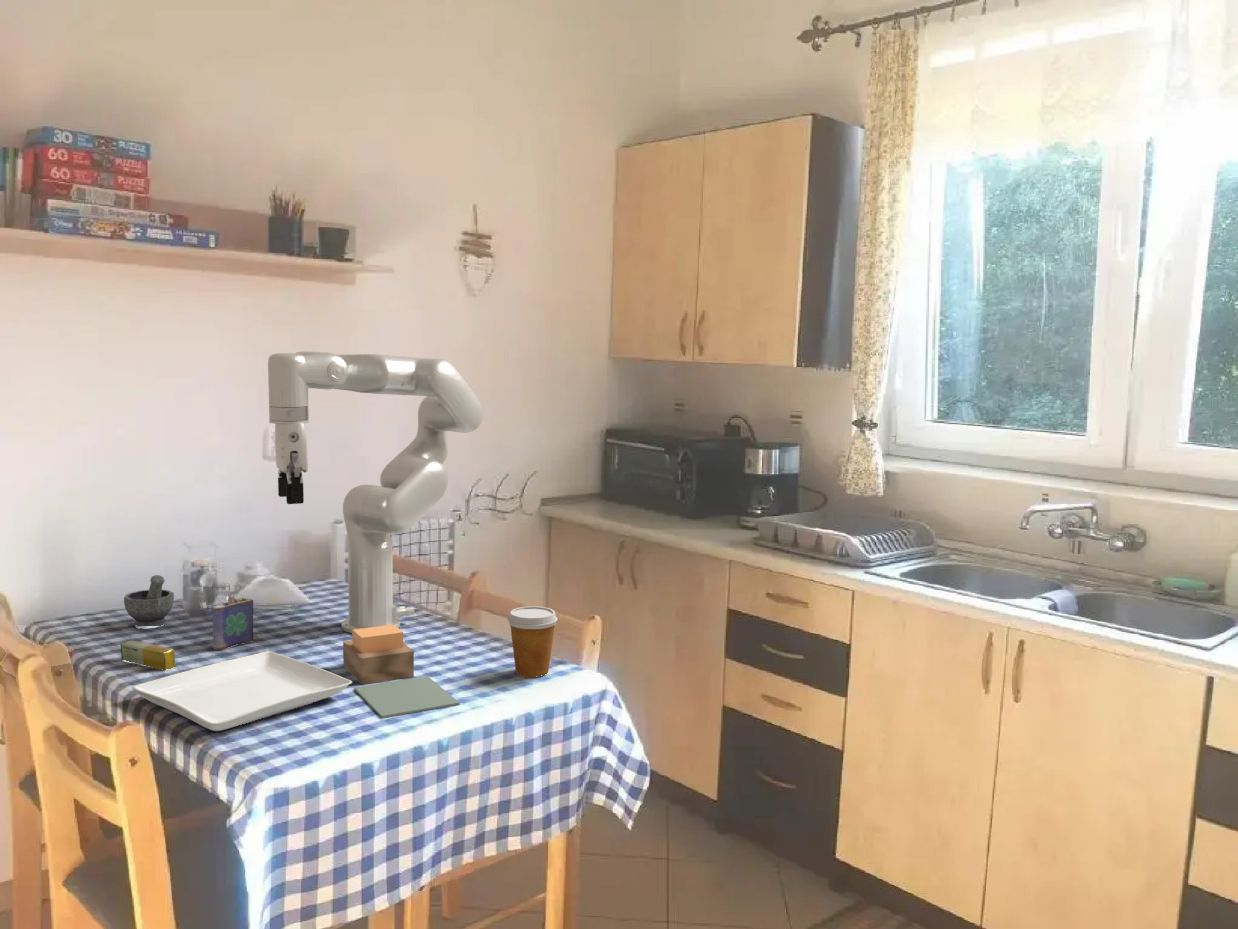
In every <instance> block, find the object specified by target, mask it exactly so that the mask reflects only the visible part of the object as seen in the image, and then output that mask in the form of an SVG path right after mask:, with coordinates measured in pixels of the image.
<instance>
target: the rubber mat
mask: <svg viewBox="0 0 1238 929" xmlns="http://www.w3.org/2000/svg"><path fill="white" fill-rule="evenodd" d="M353 688H354V691H355V692H356V693H357V694H358V695H359V697H361V698H362V700H364V702H366V704H368V705H369V706H370V708H371V709H372V710H373V711H374V712H375V713H376V714H377V715H378V716H379V717H380V718H381V719H385V718H390V717H391V718H392V717H397V716H402V715H409V714H413V713H420V711H421V712H425V711H426V712H427V711H431V710H437V709H438V710H439V709H442V708H449V707H455V706H458V705H459V706H460V705H461V704H460V701H459V700H457V699H456V698H455V697H453V695H451V694H450V693H448V691H446V690H445V689H444V688H443V687H441V686H440V685H439V684H438V683H436V682H435V681H434V680H433V679H432V678H431V677H429V675H426V676H419V677H411V678H405V679H398V680H395V681H394V680H392V681H385V682H379V683H373V684H369V685H368V684H366V685H362V686H361V685H360V686H357V687H356V686H355V687H353ZM454 705H455V706H454Z"/></svg>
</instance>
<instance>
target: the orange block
mask: <svg viewBox="0 0 1238 929" xmlns="http://www.w3.org/2000/svg"><path fill="white" fill-rule="evenodd" d="M352 640H353V646H355V647H356V648H357V649H358V650H359V651H360V652H361V653H368V652H375V651H382V650H389V649H397V648H403V643H404V632H403V630H401V629H400V628H397V627H396V626H394V625H385V626H377V627H370V628H362V629H354V630H353V633H352Z"/></svg>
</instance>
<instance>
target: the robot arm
mask: <svg viewBox="0 0 1238 929" xmlns="http://www.w3.org/2000/svg"><path fill="white" fill-rule="evenodd" d="M267 372H268V374H267V376H268V377H267V378H268V414H269V415H268V416H269V418H268V419H269V420H268V421H269V423H270V424H274V447H275V448H274V449H275V464H276V465H275V466H276V468H277V469H278V472H277V473H278V474H277V475H278V477H277V488H278V489H277V490H278V491H277V492H278V497H279V498H280V497H281V498H283V497H284V498H285V497H286V499H285V500H286V504H287V505H296V504H297V505H301V504H304V500H305V499H304V480H303V479H304V478H303V473H307V472H308V471H309V463H308V461H309V460H308V446H307V444H308V443H307V434H306V426H305V424H308V423H309V422H310V420H309V418H310V417H309V416H310V415H309V389H316V390H341V391H348V392H354V393H355V392H356V393H361V394H375V395H393V396H394V395H396V396H417V397H418V396H419V397H421V396H422V397H424V398H423V399H422V401H421V402H420V404H419V407H418V410H417V423H418V424H417V432H416V436H415V438H414V439H413V440H412V441H411V442H410V443H409V444H408V445H407V446H405V448H403V449H402V451H400V452H399V453H398V454H397V455H396V456H395V457H394V458H392V459H391V461H389V462H388V463H387V464H386V465H385V467H384V468H383V469H382V471H381V474H380V476H379V477H380V478H379V480H380V481H379V482H380V485H374V484H361V485H357V486H354V487H353V488H351V489H350V490H349V491H348V492H347V493H346V495H345V497H344V499H343V503H342V514H343V519H344V524H345V525H344V526H345V530H346V537H347V569H348V572H347V574H348V580H347V581H348V585H347V586H348V593H347V594H348V618H346V619H344V620H343V621H341V629H342V630H343V631H344V632H346V633H350V634H353V630H354V629H362V628H370V627H377V626H385V625H394V626H396V627H397V628H398V629H400V627H401V620H400V619H401V617H405V616H406V617H407V616H408V617H409V616H414V615H415V608H414V606H407V607H406V606H405V605H400V606H396V605H395V604H394V599H393V598H394V591H393V590H394V587H393V586H394V585H393V584H394V582H393V581H394V580H393V574H394V573H393V572H394V571H393V567H394V566H393V562H394V560H393V557H394V552H393V543H392V538H391V535H390V534H392V535H396V534H397V535H399V534H403V533H405V532H407V531H409V530H410V529H411V528H413V527H414V526H415V525H416V524H417V523H418V522H419V521H420V520H421V519H422V518H424V517H425V515H427V513H429V511H430V510H432V508H434V506H436V505H437V504H438V502H439V501H440V500H442V498H443V497H444V494H445V493H446V490H447V487H448V485H449V484H448V483H449V476H448V471H447V469H446V467H445V466H444V465H443V463H444V462H445V461H446V459H447V456H448V432H454V433H471V432H473V431H475V430H477V429H478V428H479V426H481V424H482V421H483V418H484V413H483V412H484V410H483V406H482V404H481V402H480V400H479V398H478V397H477V395H476V394H475V392H474V391H473V390H472V389H471V387H470V386H469V384H468V383H467V381H466V380H465V379H464V377H463V376H462V375H461V374H460V372H459V371H458V370H457V369H456V368H455V367H454V366H453V365H452V364H451V363H450V362H449V361H448V360H446V359H442V358H423V357H412V356H411V357H410V356H397V355H388V354H377V353H375V354H374V353H360V354H337V353H332V352H325V351H323V352H322V351H298V352H295V353H291V352H288V353H287V352H286V353H279V352H278V353H273V354H270V355H269V357H268V359H267ZM302 472H303V473H302Z"/></svg>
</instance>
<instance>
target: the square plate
mask: <svg viewBox="0 0 1238 929" xmlns="http://www.w3.org/2000/svg"><path fill="white" fill-rule="evenodd" d="M352 683H353V681H352V680H350V679H348V678H347V677H346V678H345V677H343V676H341V675H338V674H336V673H333V672H330V671H328V670H326V669H323V668H320V667H319V666H315V665H313V664H309V663H307V662H305V661H301V660H299V659H295V658H292V657H289V656H286V655H284V654H279V653H277V652H274V651H268V650H267V651H263V652H260V653H259V652H258V653H255V654H251V655H247V656H242V657H238V658H233V659H229V660H224V661H221V662H216V663H212V664H208V665H204V666H200V667H197V668H196V667H195V668H193V669H188V670H186V671H182V672H178V673H175V674H171V675H168V676H167V675H166V676H164V677H159V678H157V679H153V680H150V681H147V682H143V683H139V684H136V685H134V686H132V687H131V689H132V690H133V691H135V692H136V693H137V694H138V695H139V696H141V697H142V698H144V699H145V700H147V701H149V702H151V703H153V704H154V705H157V706H159V707H162V708H164V709H167V710H168V711H171V712H174V713H176V714H179V715H180V716H182V717H184V718H187V719H189V720H190V721H192V722H194V723H196V724H198V725H200V726H201V727H204V728H205V729H208V730H210V731H212V732H213V731H214V732H220V731H224V730H229V729H231V728H234V727H239V725H240V726H243V725H246V723H247V724H250V723H252V721H253V722H256V721H255V720H257V721H259V720H258V719H260V720H262V719H261V718H263V719H266V718H269V717H272V715H273V716H275V714H276V715H278V714H282V713H284V712H285V711H286V712H288V711H291V710H296V709H298V707H299V708H301V706H302V707H305V706H304V705H306V706H308V704H309V705H311V704H314V703H315V702H319V701H322V700H324V699H329V698H330V697H333V696H335V695H337V694H339V693H341V692H342V691H344V690H345V689H346V688H348V686H349V685H351V684H352ZM313 702H314V703H313ZM295 708H296V709H295ZM281 712H282V713H281ZM249 722H250V723H249ZM242 724H243V725H242Z"/></svg>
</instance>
